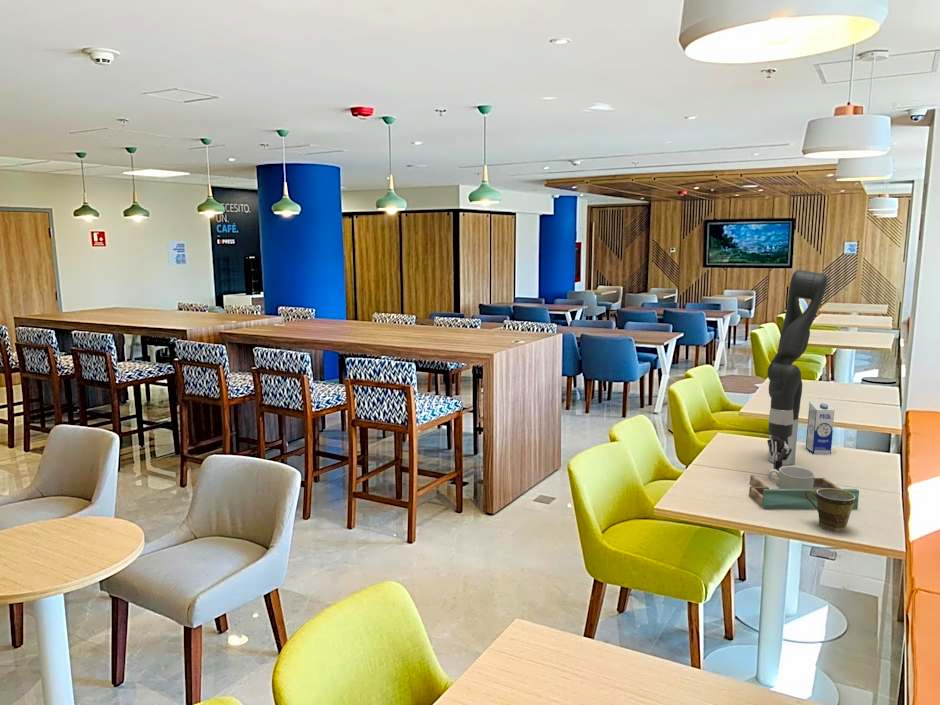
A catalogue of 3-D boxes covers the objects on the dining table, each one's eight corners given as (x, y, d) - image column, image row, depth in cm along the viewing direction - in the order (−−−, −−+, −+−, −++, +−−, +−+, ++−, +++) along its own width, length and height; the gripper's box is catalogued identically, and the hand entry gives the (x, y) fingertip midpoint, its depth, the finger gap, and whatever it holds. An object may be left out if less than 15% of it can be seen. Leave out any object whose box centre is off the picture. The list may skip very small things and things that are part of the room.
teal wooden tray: (735, 483, 234) (736, 466, 233) (819, 483, 234) (821, 467, 234) (764, 509, 212) (765, 490, 211) (857, 509, 212) (859, 490, 211)
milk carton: (822, 449, 274) (827, 401, 271) (831, 454, 267) (835, 405, 264) (804, 449, 274) (808, 400, 271) (812, 454, 267) (816, 404, 264)
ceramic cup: (856, 526, 199) (859, 493, 197) (847, 537, 191) (850, 503, 190) (808, 514, 207) (810, 483, 206) (798, 524, 200) (800, 491, 198)
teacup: (814, 492, 227) (816, 468, 225) (811, 502, 217) (813, 478, 216) (769, 484, 234) (770, 462, 232) (764, 494, 224) (766, 470, 223)
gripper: (761, 417, 240) (758, 464, 242) (779, 426, 227) (776, 476, 229) (782, 416, 240) (778, 464, 243) (801, 425, 227) (798, 476, 229)
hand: (777, 470), depth 236 cm, fingers closed
